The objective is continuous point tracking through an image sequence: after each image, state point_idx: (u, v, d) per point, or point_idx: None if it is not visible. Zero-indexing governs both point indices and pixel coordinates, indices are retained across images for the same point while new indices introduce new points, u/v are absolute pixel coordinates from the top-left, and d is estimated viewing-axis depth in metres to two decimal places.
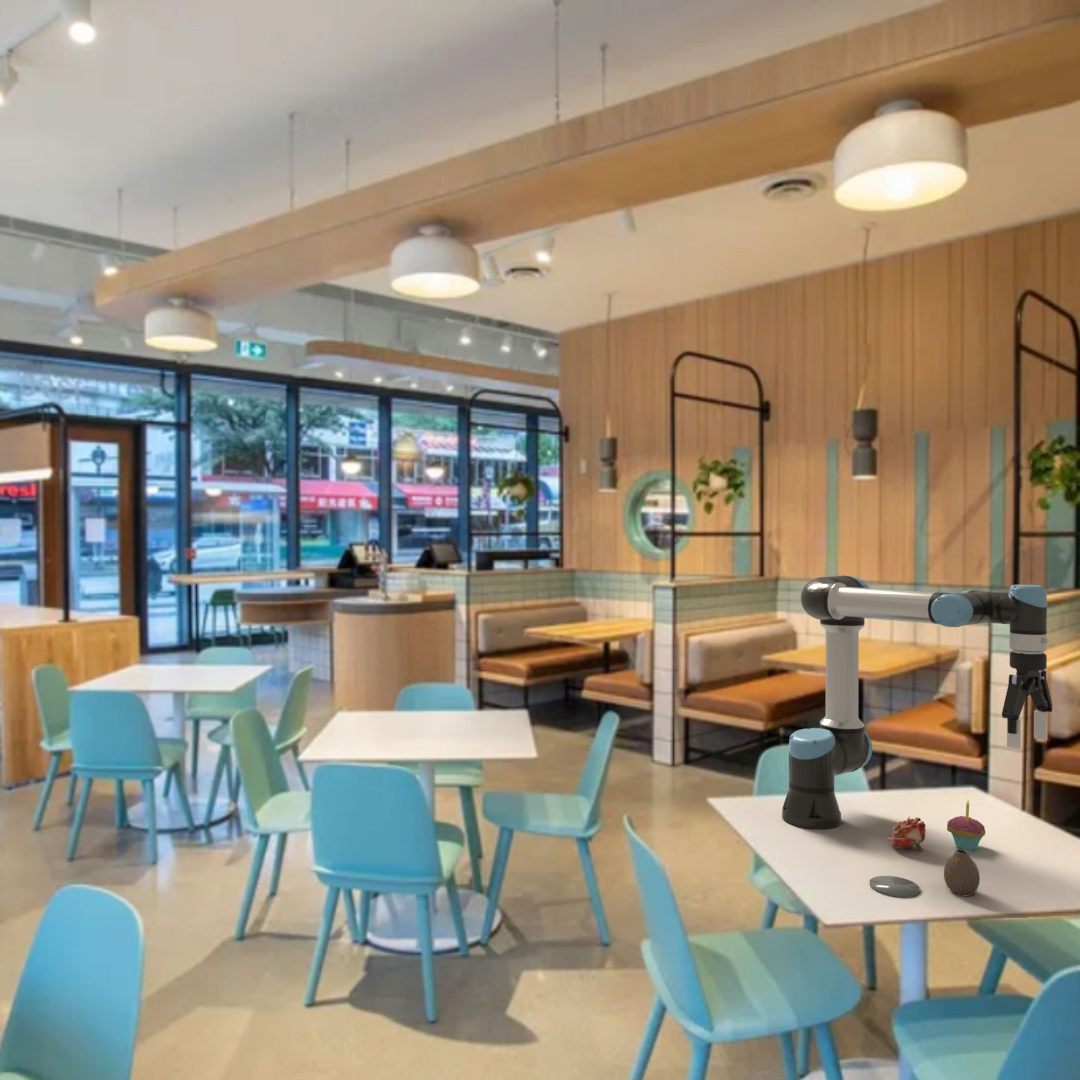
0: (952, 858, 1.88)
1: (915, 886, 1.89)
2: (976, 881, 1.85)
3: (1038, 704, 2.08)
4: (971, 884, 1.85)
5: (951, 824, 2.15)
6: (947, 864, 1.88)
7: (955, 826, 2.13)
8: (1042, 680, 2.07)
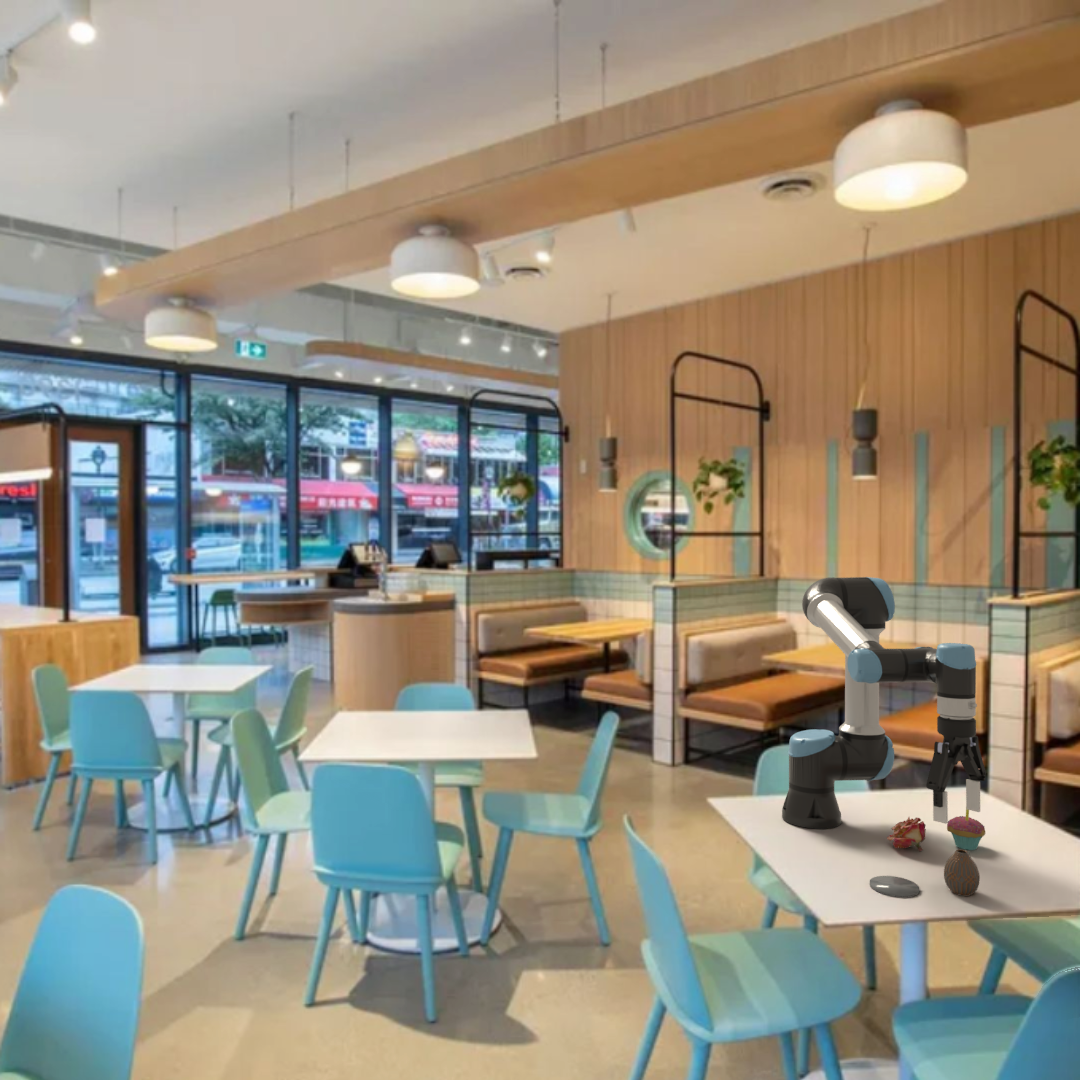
0: (952, 858, 1.88)
1: (915, 886, 1.89)
2: (976, 881, 1.85)
3: (970, 772, 1.92)
4: (971, 884, 1.85)
5: (951, 824, 2.15)
6: (947, 864, 1.88)
7: (955, 826, 2.13)
8: (973, 747, 1.91)
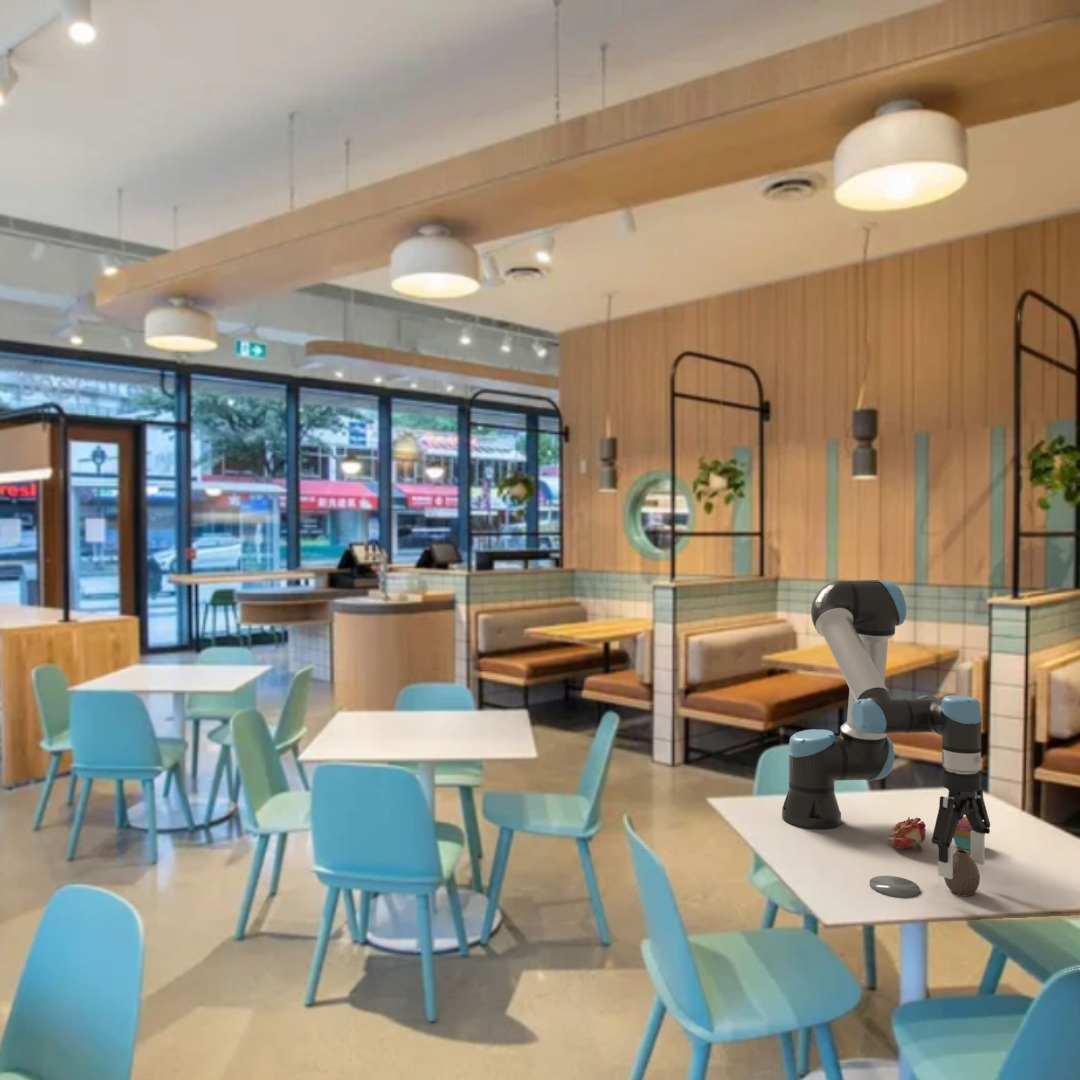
0: None
1: (915, 886, 1.89)
2: (976, 881, 1.85)
3: (974, 825, 1.91)
4: (971, 884, 1.85)
5: None
6: None
7: None
8: (978, 799, 1.90)
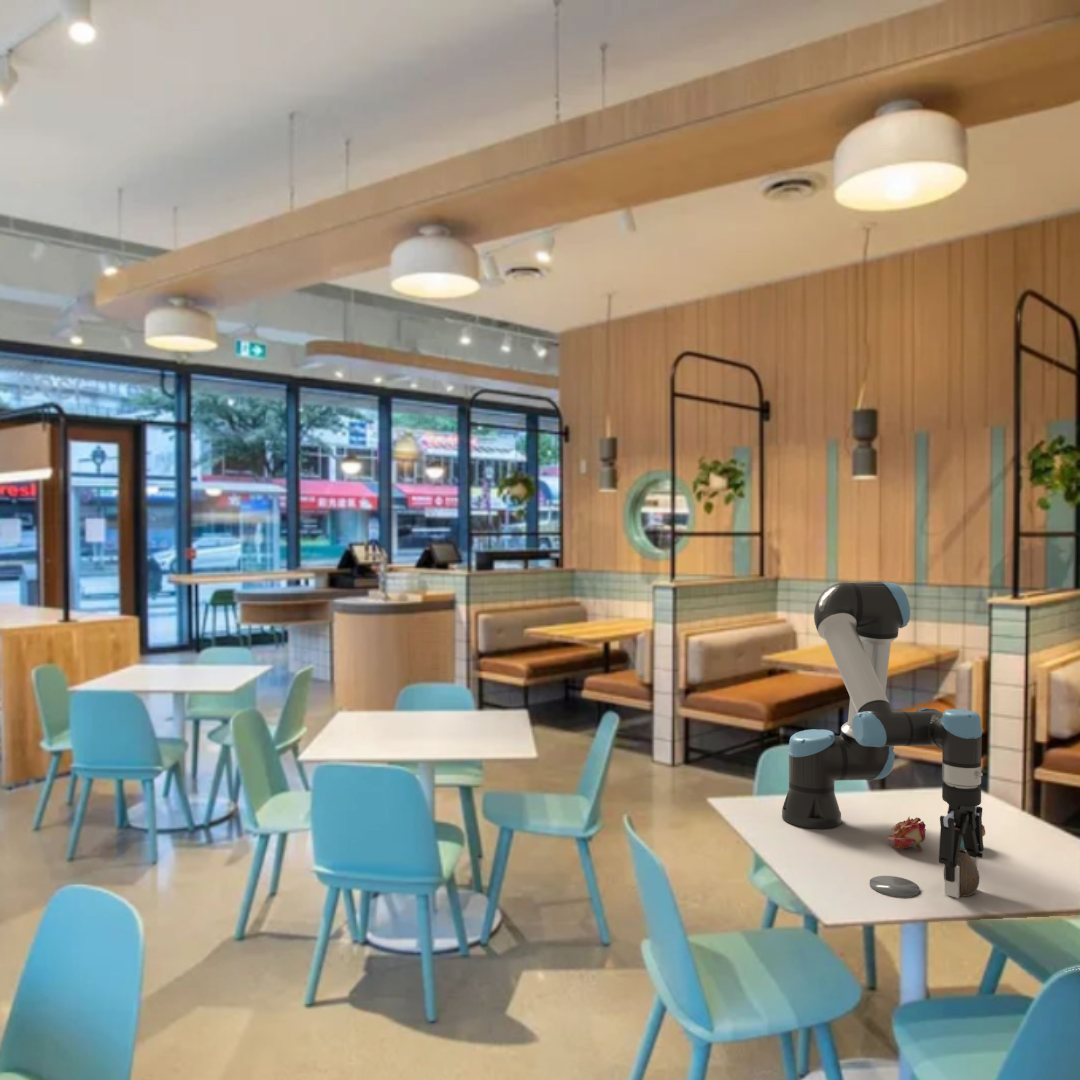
0: None
1: (915, 886, 1.89)
2: (976, 881, 1.85)
3: (968, 846, 1.90)
4: (971, 884, 1.84)
5: None
6: None
7: None
8: (977, 817, 1.90)
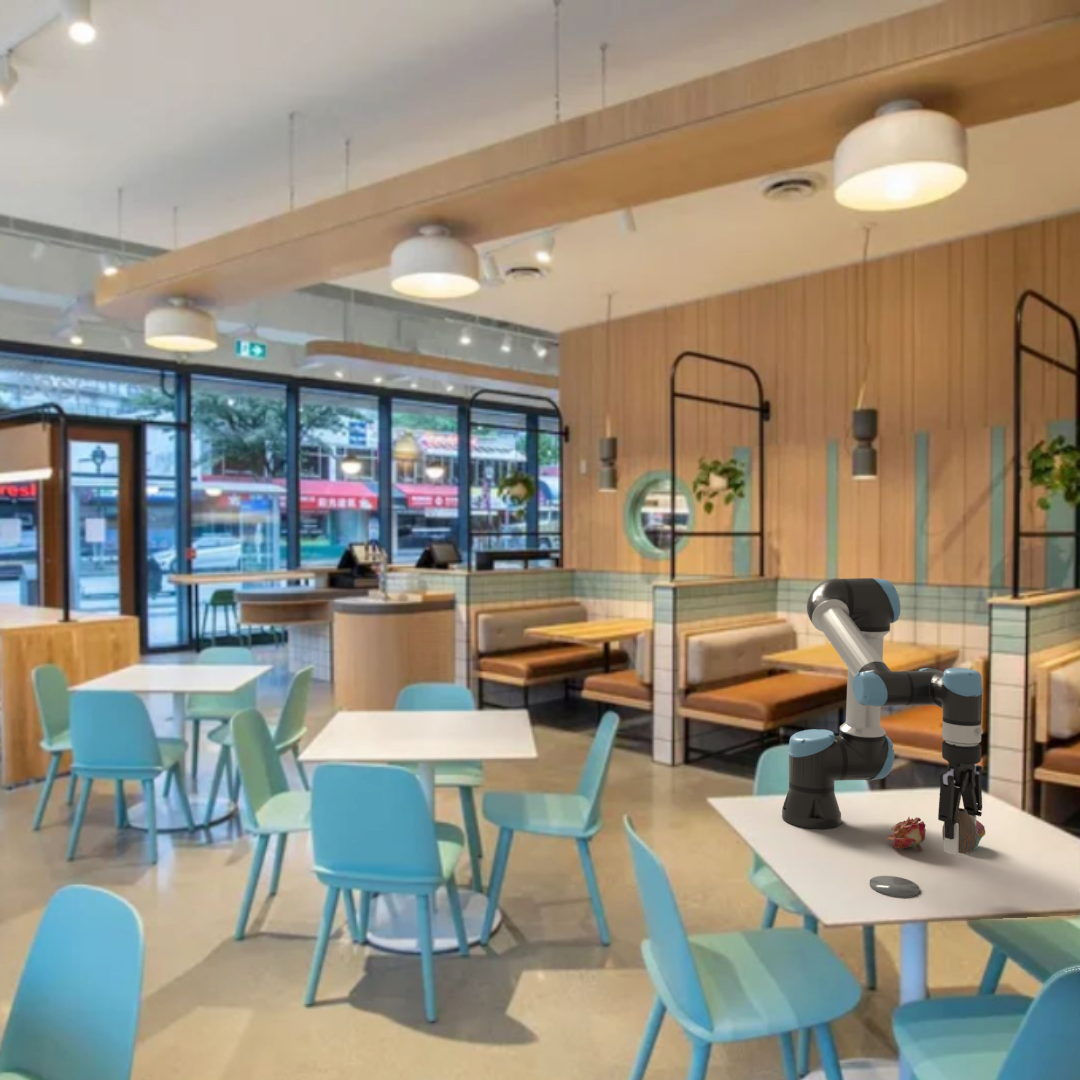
0: None
1: (915, 886, 1.89)
2: (974, 839, 1.85)
3: (967, 804, 1.90)
4: (970, 842, 1.85)
5: None
6: None
7: None
8: (976, 776, 1.90)
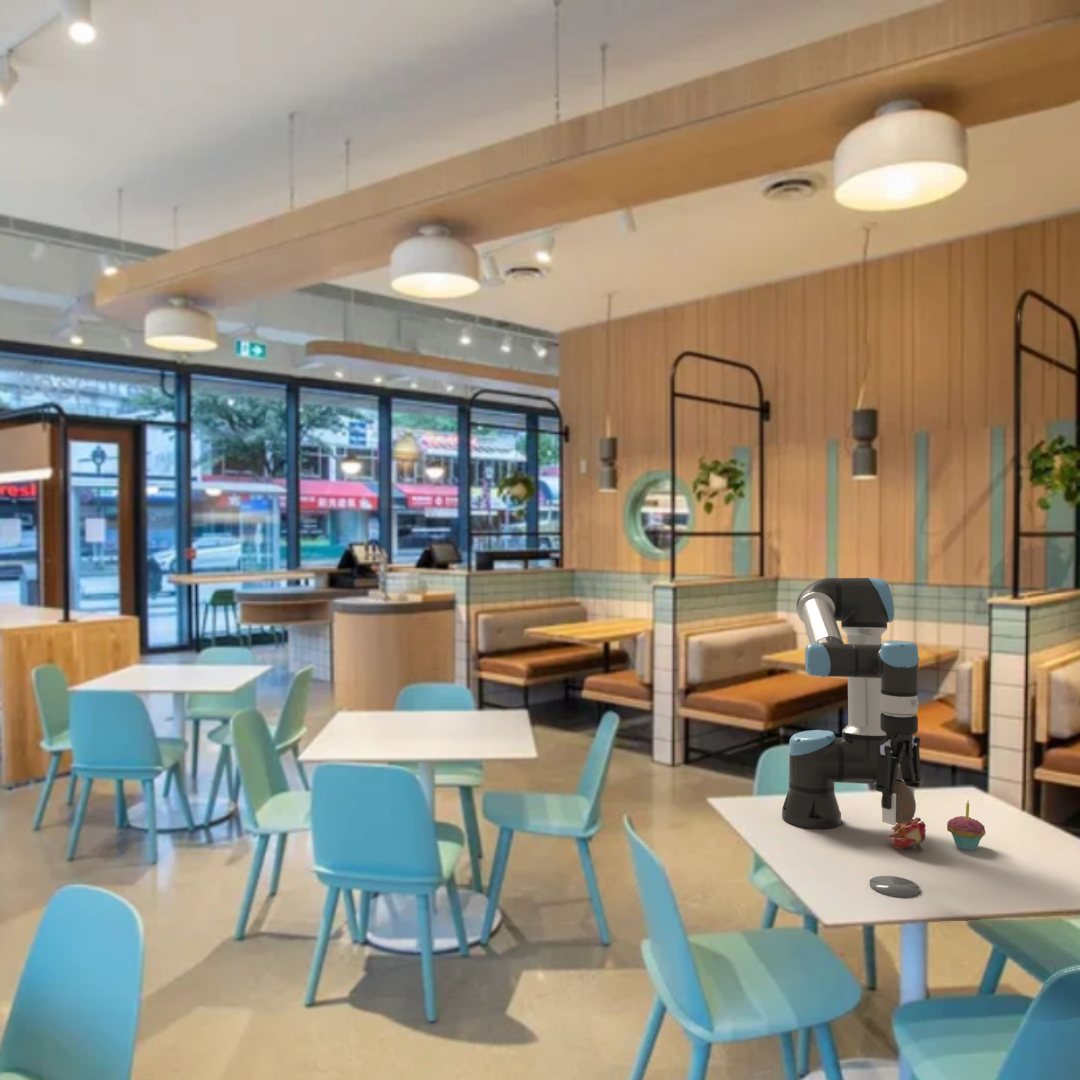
0: None
1: (915, 886, 1.89)
2: (912, 809, 1.87)
3: (906, 776, 1.92)
4: (907, 811, 1.87)
5: (951, 824, 2.15)
6: None
7: (955, 826, 2.13)
8: (914, 747, 1.93)
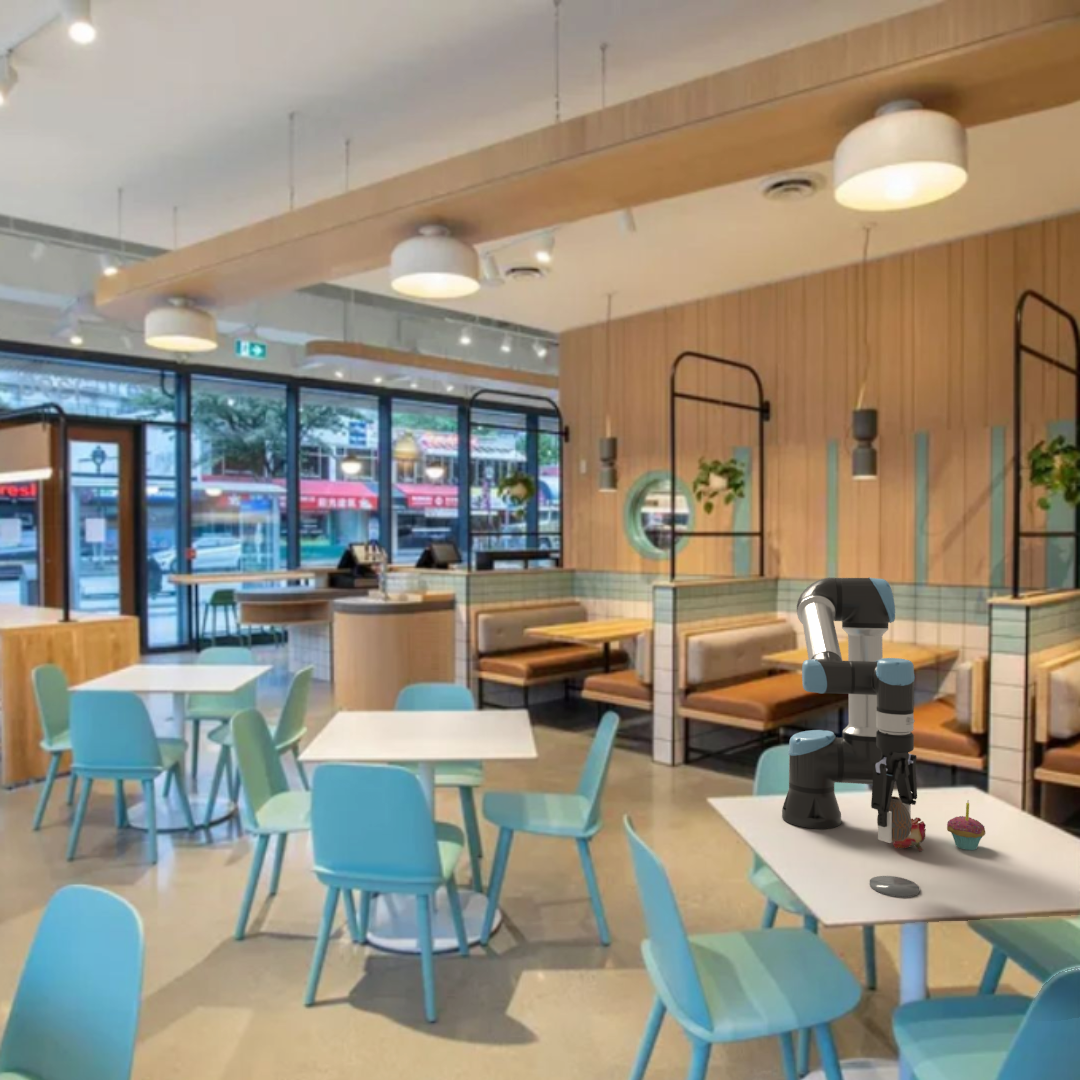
0: None
1: (915, 886, 1.89)
2: (907, 827, 1.87)
3: (902, 793, 1.92)
4: (903, 829, 1.87)
5: (951, 824, 2.15)
6: None
7: (955, 826, 2.13)
8: (910, 765, 1.93)
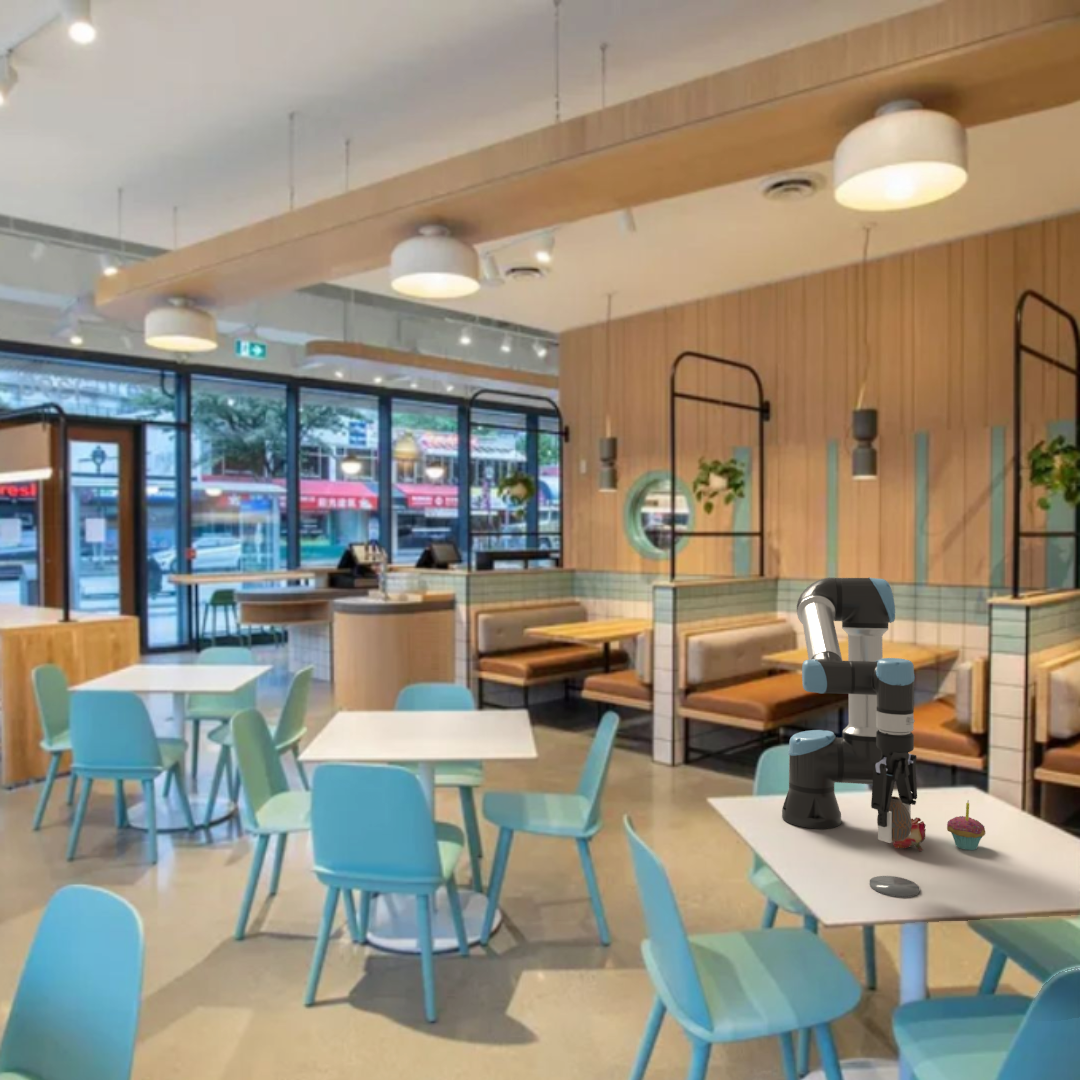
0: None
1: (915, 886, 1.89)
2: (907, 827, 1.87)
3: (902, 793, 1.92)
4: (903, 829, 1.87)
5: (951, 824, 2.15)
6: None
7: (955, 826, 2.13)
8: (910, 765, 1.93)
